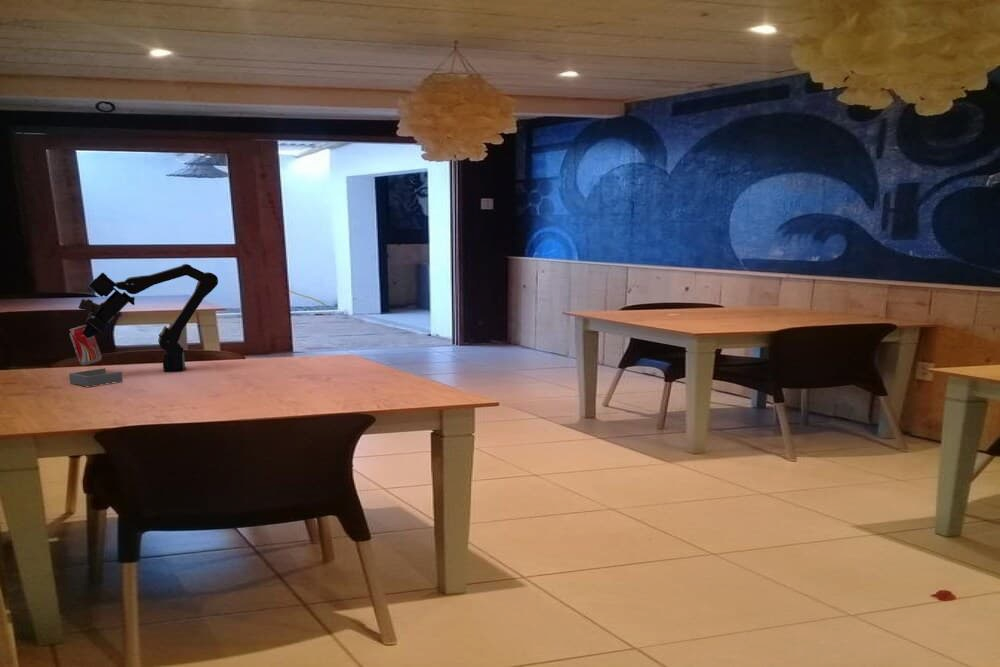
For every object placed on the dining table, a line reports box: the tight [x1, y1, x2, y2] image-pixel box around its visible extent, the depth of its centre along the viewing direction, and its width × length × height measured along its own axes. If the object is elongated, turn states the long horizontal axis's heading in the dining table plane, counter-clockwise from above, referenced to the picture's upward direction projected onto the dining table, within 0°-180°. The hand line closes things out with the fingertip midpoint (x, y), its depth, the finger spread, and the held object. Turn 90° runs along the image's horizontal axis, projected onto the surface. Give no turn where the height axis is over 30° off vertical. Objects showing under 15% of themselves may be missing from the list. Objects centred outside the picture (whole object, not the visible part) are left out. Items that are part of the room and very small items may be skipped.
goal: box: [69, 367, 123, 387], centre depth 257 cm, size 12×12×3 cm
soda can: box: [69, 324, 103, 366], centre depth 266 cm, size 7×7×13 cm
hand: (79, 339), depth 265 cm, fingers closed on soda can, 4 cm apart
